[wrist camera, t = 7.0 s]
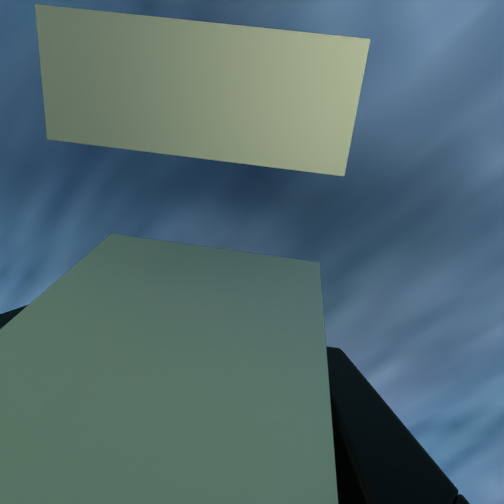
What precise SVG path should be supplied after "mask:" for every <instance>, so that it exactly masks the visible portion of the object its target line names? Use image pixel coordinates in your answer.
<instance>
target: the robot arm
mask: <svg viewBox="0 0 504 504" xmlns="http://www.w3.org/2000/svg"><path fill="white" fill-rule="evenodd" d="M27 306H28V305H26V306H23V307H20V308H17V309H14V310H11V311H9V312H6V313H3V314H0V329H1V328H2V327H4V326H5V325H6V324H7V323H8V322H9V321H11V320H12V319H13V318H14V317H15V316H16V315H18V314H19V313H20V312H21V311H22V310H23V309H24V308H26V307H27ZM326 351H327V364H328V377H329V390H330V403H331V416H332V429H333V442H334V455H335V468H336V481H337V494H338V504H470V503H469V502H468V501H467V500H466V499H465V497H464V496H463V495H461V494H459V495H458V489H457V488H456V487H455V486H454V485H453V483H452V482H451V481H450V480H449V478H448V477H447V476H446V475H445V474H444V472H443V471H442V470H441V469H440V468H439V466H438V465H437V464H436V463H435V462H434V460H433V459H432V458H431V457H430V456H429V454H428V453H427V452H426V451H425V450H424V448H423V447H422V446H421V445H420V444H419V442H418V441H417V440H416V439H415V438H414V436H413V435H412V434H411V433H410V431H409V430H408V429H407V428H406V427H405V425H404V424H403V423H402V422H401V421H400V419H399V418H398V417H397V416H396V415H395V413H394V412H393V411H392V410H391V409H390V407H389V406H388V405H387V404H386V403H385V401H384V400H383V399H382V398H381V397H380V395H379V394H378V393H377V392H376V390H375V389H374V388H373V387H372V386H371V384H370V383H369V382H368V381H367V380H366V378H365V377H364V376H363V375H362V374H361V372H360V371H359V370H358V369H357V368H356V366H355V365H354V364H353V363H352V362H351V360H350V359H349V358H348V357H347V356H346V354H345V353H344V352H343V351H342V350H341V349H339V348H334V347H327V346H326Z"/></svg>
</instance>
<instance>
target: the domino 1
mask: <svg viewBox="0 0 504 504" xmlns="http://www.w3.org/2000/svg"><path fill="white" fill-rule="evenodd" d="M35 13H36V24H37V35H38V46H39V57H40V67H41V78H42V89H43V100H44V111H45V122H46V133H47V140H56V141H64V142H72V143H80V144H88V145H96V146H104V147H112V148H120V149H128V150H136V151H144V152H152V153H160V154H168V155H176V156H184V157H193V158H201V159H209V160H217V161H225V162H233V163H241V164H249V165H257V166H265V167H273V168H281V169H289V170H297V171H305V172H313V173H321V174H330V175H338V176H345V170H346V165H347V160H348V155H349V149H350V144H351V139H352V133H353V128H354V123H355V118H356V112H357V107H358V102H359V97H360V91H361V86H362V81H363V76H364V70H365V65H366V60H367V54H368V49H369V44H370V39H365V38H355V37H346V36H336V35H327V34H317V33H308V32H298V31H288V30H279V29H269V28H260V27H250V26H241V25H231V24H222V23H212V22H202V21H193V20H183V19H174V18H164V17H155V16H145V15H136V14H126V13H116V12H107V11H97V10H88V9H78V8H69V7H59V6H50V5H40V4H35Z"/></svg>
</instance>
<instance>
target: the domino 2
mask: <svg viewBox="0 0 504 504" xmlns="http://www.w3.org/2000/svg"><path fill="white" fill-rule="evenodd" d="M0 504H338V494H337V481H336V468H335V455H334V442H333V429H332V416H331V403H330V390H329V377H328V364H327V351H326V338H325V325H324V312H323V299H322V286H321V273H320V262H313V261H306V260H299V259H292V258H284V257H277V256H270V255H262V254H255V253H248V252H241V251H233V250H226V249H219V248H212V247H204V246H197V245H190V244H183V243H175V242H168V241H161V240H153V239H146V238H139V237H132V236H124V235H117V234H110V235H109V236H108V237H107V238H106V239H104V240H103V241H102V242H101V243H100V244H99V245H98V246H96V247H95V248H94V249H93V250H92V251H91V252H89V253H88V254H87V255H86V256H85V257H84V258H82V259H81V260H80V261H79V262H78V263H77V264H75V265H74V266H73V267H72V268H71V269H70V270H69V271H67V272H66V273H65V274H64V275H63V276H62V277H60V278H59V279H58V280H57V281H56V282H55V283H53V284H52V285H51V286H50V287H49V288H48V289H47V290H45V291H44V292H43V293H42V294H41V295H40V296H38V297H37V298H36V299H35V300H34V301H33V302H31V303H30V304H29V305H28V306H27V307H26V308H24V309H23V310H22V311H21V312H20V313H19V314H18V315H16V316H15V317H14V318H13V319H12V320H11V321H9V322H8V323H7V324H6V325H5V326H4V327H2V328H1V329H0Z"/></svg>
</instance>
